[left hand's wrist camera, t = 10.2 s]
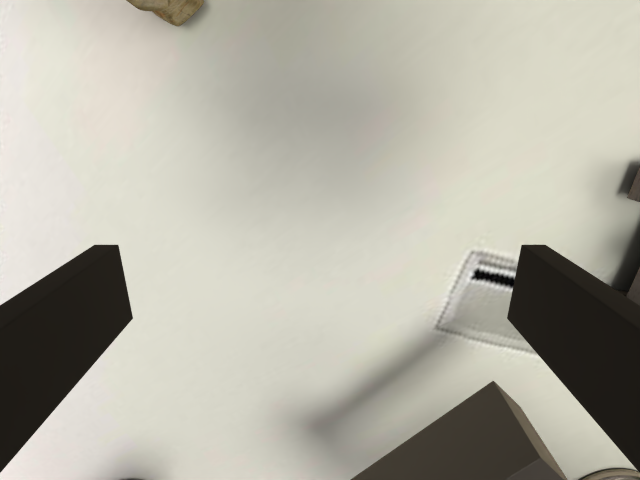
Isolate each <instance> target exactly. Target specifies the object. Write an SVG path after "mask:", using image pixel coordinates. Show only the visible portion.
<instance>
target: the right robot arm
mask: <svg viewBox="0 0 640 480" xmlns="http://www.w3.org/2000/svg"><path fill="white" fill-rule="evenodd" d="M582 480H640V472H637V471H633V470H628V469H612V470H605V471H601V472H598V473H595V474H592V475H590V476H587V477H585V478H583V479H582Z"/></svg>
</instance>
